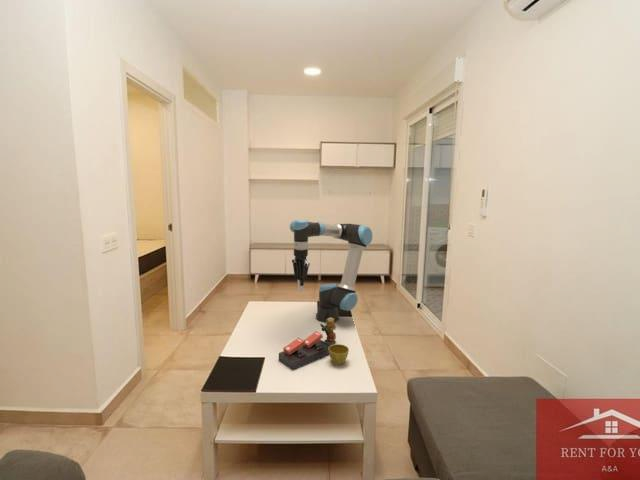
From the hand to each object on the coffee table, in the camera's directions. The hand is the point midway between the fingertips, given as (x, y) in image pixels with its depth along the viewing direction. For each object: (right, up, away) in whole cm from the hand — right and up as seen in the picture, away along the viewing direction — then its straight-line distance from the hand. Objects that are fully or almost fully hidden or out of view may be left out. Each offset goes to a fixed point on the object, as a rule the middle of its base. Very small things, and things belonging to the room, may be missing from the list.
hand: (300, 291), depth 187 cm
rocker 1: (-2, -25, -15) cm, 30 cm away
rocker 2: (+7, -24, -8) cm, 26 cm away
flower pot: (+20, -33, -17) cm, 42 cm away
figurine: (+16, -30, +4) cm, 34 cm away
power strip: (+4, -32, -12) cm, 34 cm away
